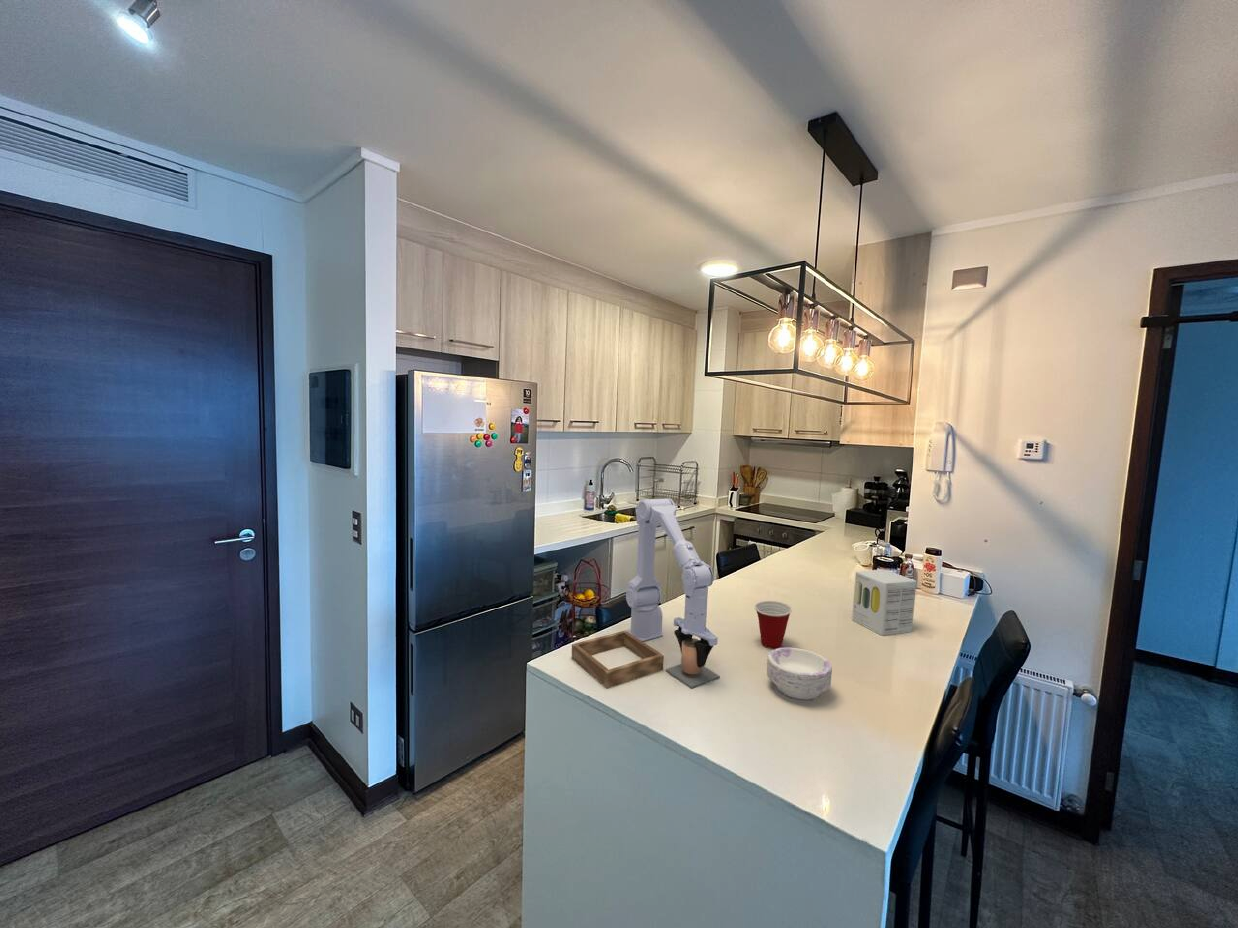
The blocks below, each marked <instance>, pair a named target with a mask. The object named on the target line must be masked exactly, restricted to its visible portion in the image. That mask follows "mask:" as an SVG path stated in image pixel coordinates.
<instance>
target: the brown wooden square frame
mask: <svg viewBox="0 0 1238 928" xmlns="http://www.w3.org/2000/svg"><path fill="white" fill-rule="evenodd" d="M621 647H625V648H626V649H627V650H628V651H630V652H632V653H633V654H635V655H636V656H637V657H639V658H640V659H639V660H635V661H633V662H629V663H626V664H623V665H619V666H617V667H613V668H608V667H606V666H605V665H603V664H602V663H601V662H600V661H599V660H597V659H596V658H595V657H594V656H593V655H596V654H599V653H603V652H607V651H611V650H614V649H617V648H621ZM664 657H665V655H664V654H662V653H661V652H660V651H658V650H657V649H656V648H655V649H654V648H653V647H652V646H651V645H649V644H647V643H646V642H645V641H641V640H639V639H638V638H636V637H635V636H633V635H632V634H630V633H628V632H627V630H622V631H617V632H614V633H610V634H606V635H602V636H599V637H594V638H592V639H591V638H590V639H587V640H586V639H585V640H584V641H579V642H576V643H572V644H571V659H572V660H573V661H574V662H576V663H577V664H578V665H579V666H580V667H581V668H582V669H584V670H585V671H586V672H587V673H588V674H589V675H590V676H591V677H593V678H594V679H595V680H596V679H597V680H598V682H599V684H601V685H602V684H603V685H604V686H605V687H604V686H603V685H602V686H603V687H604V688H605V689H609V687H610V688H612V686H613V687H616V686H619V685H622V684H625V683H628V682H630V680H631V681H634V680H637V679H641V678H643V677H646V676H648V675H651V674H654V673H657V672H661V671H664V664H665V663H664V662H665V661H664V660H665V658H664ZM597 680H596V681H597ZM618 684H619V685H618ZM615 685H616V686H615Z"/></svg>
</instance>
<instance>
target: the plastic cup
mask: <svg viewBox="0 0 1238 928" xmlns="http://www.w3.org/2000/svg"><path fill="white" fill-rule="evenodd" d="M754 610H755V612H756V614H757V618H758V627H759V634H760V640H761V646H763V647H766V648H768V649H771V650H774V649H778V648H782V646H783V641H784V638H785V634H786V631H787V627H788V622H789V618H790V615H791V613H792V612H793V609H792V607H791V606H790V605H789V604H787V603H785V602H782V601H777V600H762V601H757V602H756V603H755V604H754Z"/></svg>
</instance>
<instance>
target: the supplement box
mask: <svg viewBox="0 0 1238 928" xmlns="http://www.w3.org/2000/svg"><path fill="white" fill-rule="evenodd" d="M853 590H854V591H853V604H852V615H851V616H852V617H851V621H853V620H854V621H853V622H854V623H856V624H858V623H859V624H858V625H860V624H861V625H860V626H862V625H863V626H862V627H864V628H866V629H868V630H870V631H873V632H874V633H876V634H878V635H880V636H891V635H898V634H899V635H900V634H906V633H912V632H913V623H914V611H915V603H916V602H915V599H916V591H917V580H915V579H913V578H909V577H907V576H904V575H901V574H898V573H895V572H892V571H890V570H887V569H883V568H881V569H870V570H859V571H855V576H854V589H853Z"/></svg>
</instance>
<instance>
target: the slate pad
mask: <svg viewBox="0 0 1238 928" xmlns="http://www.w3.org/2000/svg"><path fill="white" fill-rule="evenodd" d="M665 673H668V674H669V675H670V676H671V677H673V678H675V679H676V680H677V681H679V682H681V684H683V685H685V686H687V688H689V689H691V690H693V689H696V688H698V687H700V686H704V685H706V684H710V683H711V682H713V681H717V680H719V679H721V676H720V674H718V673H716V672H714V671H713V670H711V669H709V668H707V667H706V666H703V667H702V672H701V673H699V674H688V673H685V672H683V671H682V669H681V663H680V664H677V665H674V666H672V667H669V668H666V669H665Z"/></svg>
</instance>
